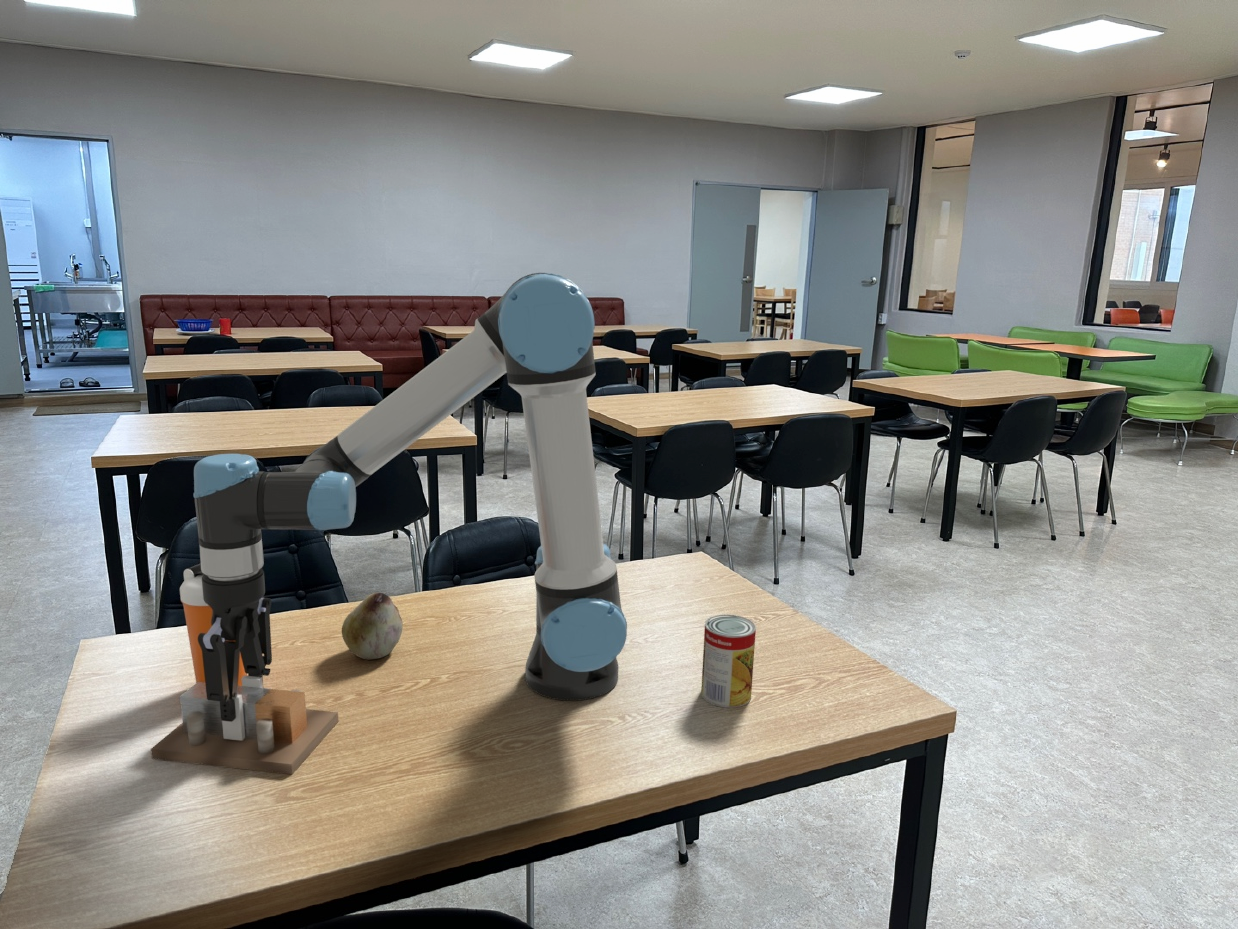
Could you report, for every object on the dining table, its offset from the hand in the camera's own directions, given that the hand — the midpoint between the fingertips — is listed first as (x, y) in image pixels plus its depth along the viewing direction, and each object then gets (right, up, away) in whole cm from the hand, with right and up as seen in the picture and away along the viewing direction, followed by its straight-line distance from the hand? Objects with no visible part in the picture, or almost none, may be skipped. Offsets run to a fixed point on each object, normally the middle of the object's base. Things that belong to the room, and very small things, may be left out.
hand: (244, 728), depth 115 cm
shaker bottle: (-10, +2, +14) cm, 17 cm away
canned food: (+69, 0, +16) cm, 71 cm away
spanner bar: (0, 0, 0) cm, 0 cm away
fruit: (+10, +4, +26) cm, 28 cm away
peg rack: (0, -2, +1) cm, 2 cm away
